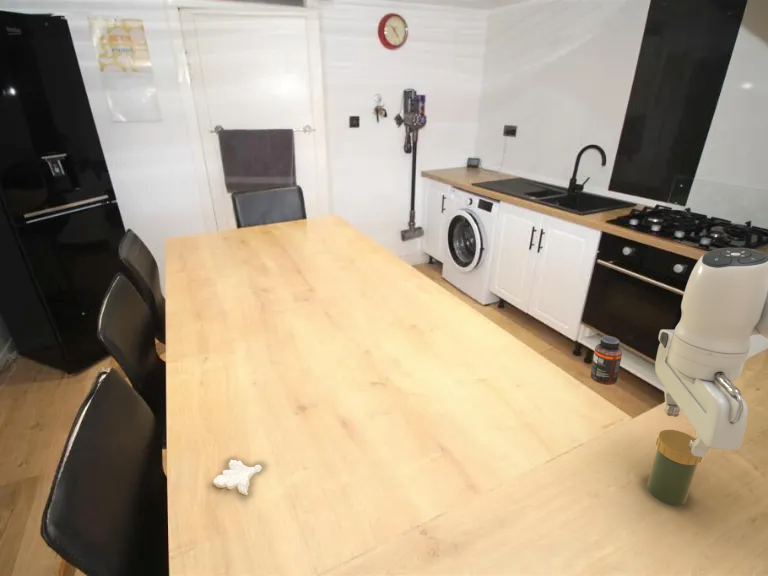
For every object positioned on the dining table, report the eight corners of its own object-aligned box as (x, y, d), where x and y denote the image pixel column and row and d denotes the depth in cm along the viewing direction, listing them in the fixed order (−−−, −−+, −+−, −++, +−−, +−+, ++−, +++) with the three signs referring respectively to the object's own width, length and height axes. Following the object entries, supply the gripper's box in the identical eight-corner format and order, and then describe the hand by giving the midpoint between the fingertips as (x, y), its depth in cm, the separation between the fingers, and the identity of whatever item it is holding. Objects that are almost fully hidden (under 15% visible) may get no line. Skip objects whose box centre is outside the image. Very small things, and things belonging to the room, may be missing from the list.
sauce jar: (688, 493, 70) (703, 443, 67) (682, 513, 66) (698, 462, 63) (650, 476, 74) (663, 428, 70) (643, 494, 70) (656, 445, 66)
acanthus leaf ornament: (247, 498, 71) (245, 490, 71) (210, 494, 72) (208, 486, 72) (265, 465, 78) (263, 457, 78) (231, 462, 79) (229, 454, 78)
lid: (703, 450, 67) (706, 441, 66) (697, 471, 63) (700, 461, 62) (660, 433, 71) (662, 424, 70) (652, 452, 67) (654, 443, 66)
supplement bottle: (615, 376, 104) (624, 336, 100) (617, 388, 99) (626, 347, 95) (589, 371, 106) (596, 332, 103) (589, 383, 101) (597, 342, 97)
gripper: (775, 400, 51) (742, 486, 55) (697, 329, 69) (678, 397, 74) (716, 394, 52) (689, 478, 57) (655, 325, 71) (639, 393, 75)
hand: (682, 432), depth 66 cm, fingers open, 8 cm apart
